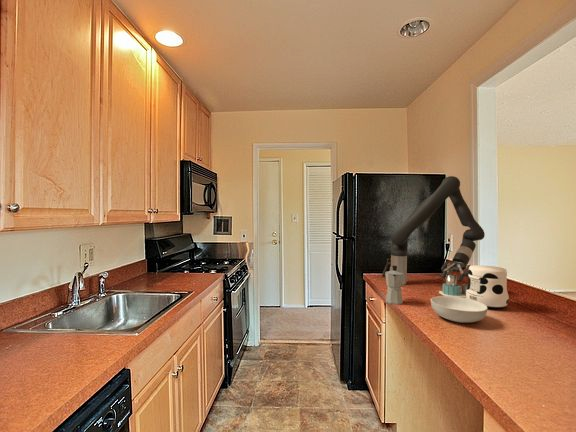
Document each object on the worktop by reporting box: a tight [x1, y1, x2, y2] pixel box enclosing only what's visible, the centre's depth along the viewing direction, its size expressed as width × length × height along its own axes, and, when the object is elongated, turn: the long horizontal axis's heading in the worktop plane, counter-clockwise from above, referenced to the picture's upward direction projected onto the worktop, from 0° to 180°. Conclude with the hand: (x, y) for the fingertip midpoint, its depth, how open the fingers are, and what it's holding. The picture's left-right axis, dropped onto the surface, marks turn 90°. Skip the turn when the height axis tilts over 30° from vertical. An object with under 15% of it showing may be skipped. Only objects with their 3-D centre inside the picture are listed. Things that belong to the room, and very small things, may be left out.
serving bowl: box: [430, 295, 489, 324], centre depth 132 cm, size 21×21×7 cm
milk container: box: [466, 264, 510, 309], centre depth 152 cm, size 17×17×18 cm
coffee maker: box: [385, 266, 404, 306], centre depth 157 cm, size 15×9×18 cm, turn 161°
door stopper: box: [381, 258, 391, 278], centre depth 216 cm, size 9×6×12 cm, turn 72°
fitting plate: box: [438, 282, 468, 299], centre depth 168 cm, size 17×11×6 cm, turn 89°
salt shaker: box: [445, 273, 458, 287], centre depth 169 cm, size 5×5×10 cm
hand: (450, 279), depth 168 cm, fingers open, 8 cm apart
